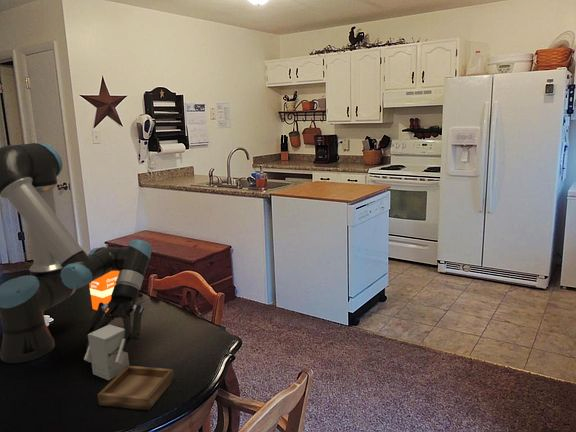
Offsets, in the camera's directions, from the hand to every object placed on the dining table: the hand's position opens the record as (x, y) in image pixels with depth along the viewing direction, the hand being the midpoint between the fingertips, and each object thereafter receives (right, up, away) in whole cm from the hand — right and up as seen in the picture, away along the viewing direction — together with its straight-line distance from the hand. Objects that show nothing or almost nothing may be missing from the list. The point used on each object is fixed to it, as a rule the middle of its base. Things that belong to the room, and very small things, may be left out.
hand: (103, 362), depth 128 cm
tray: (+12, -6, -6) cm, 15 cm away
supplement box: (+1, -4, +4) cm, 6 cm away
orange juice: (-19, +5, +51) cm, 55 cm away
